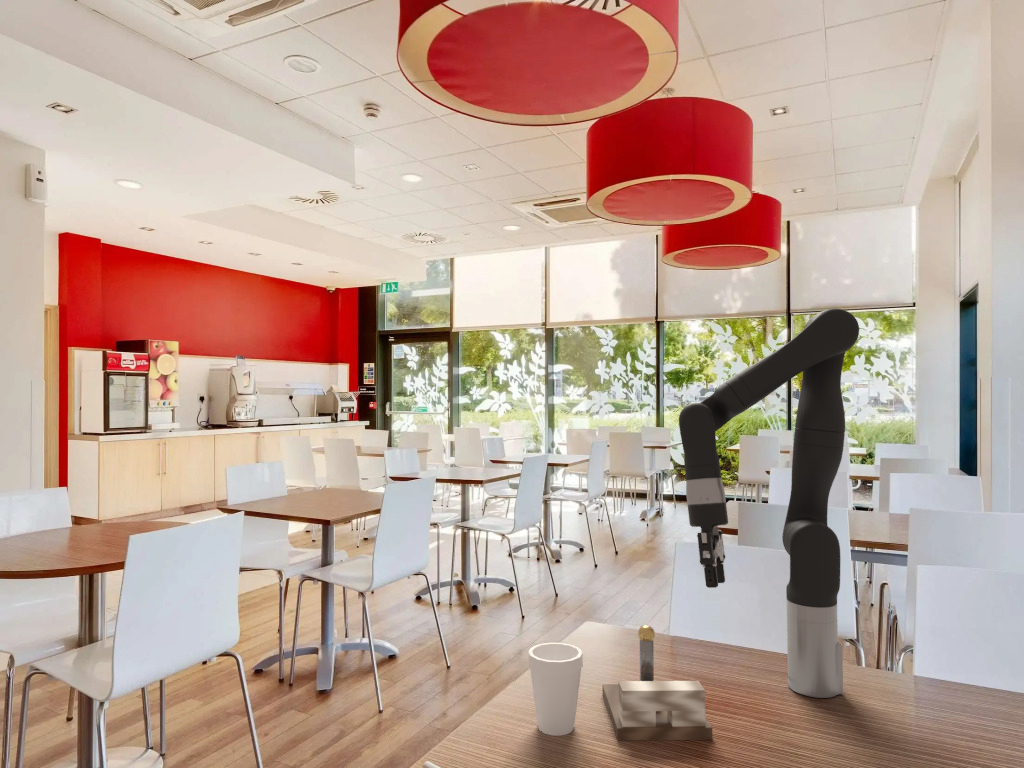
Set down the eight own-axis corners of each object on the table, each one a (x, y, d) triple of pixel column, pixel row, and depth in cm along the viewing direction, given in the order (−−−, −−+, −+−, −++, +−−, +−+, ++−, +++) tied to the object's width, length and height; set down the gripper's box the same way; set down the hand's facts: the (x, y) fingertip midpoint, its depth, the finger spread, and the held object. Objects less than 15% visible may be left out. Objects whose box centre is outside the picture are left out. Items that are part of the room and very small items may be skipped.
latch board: (684, 694, 132) (684, 652, 133) (712, 739, 114) (711, 691, 115) (602, 694, 132) (602, 653, 132) (617, 740, 114) (616, 692, 114)
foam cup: (582, 716, 123) (582, 643, 124) (583, 741, 114) (582, 662, 114) (530, 713, 124) (530, 642, 125) (526, 738, 115) (526, 661, 115)
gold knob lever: (653, 685, 131) (652, 622, 131) (664, 706, 122) (663, 638, 122) (636, 685, 131) (636, 622, 131) (646, 706, 122) (645, 638, 122)
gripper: (719, 500, 130) (730, 588, 126) (730, 500, 142) (740, 581, 139) (680, 503, 133) (689, 589, 129) (694, 503, 145) (703, 581, 142)
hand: (716, 585), depth 134 cm, fingers open, 8 cm apart
